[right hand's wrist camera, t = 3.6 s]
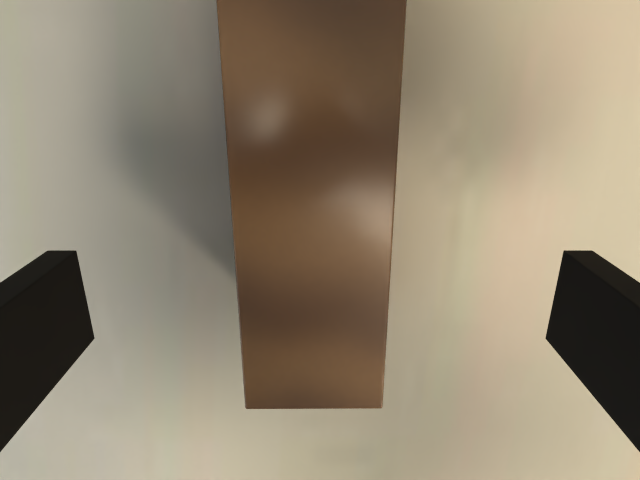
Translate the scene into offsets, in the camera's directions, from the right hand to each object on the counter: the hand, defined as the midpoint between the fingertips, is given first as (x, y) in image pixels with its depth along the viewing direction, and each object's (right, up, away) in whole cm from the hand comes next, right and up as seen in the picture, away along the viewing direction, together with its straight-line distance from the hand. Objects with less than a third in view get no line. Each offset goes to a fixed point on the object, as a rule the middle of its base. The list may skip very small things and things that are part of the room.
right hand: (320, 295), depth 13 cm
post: (0, +29, +2) cm, 29 cm away
